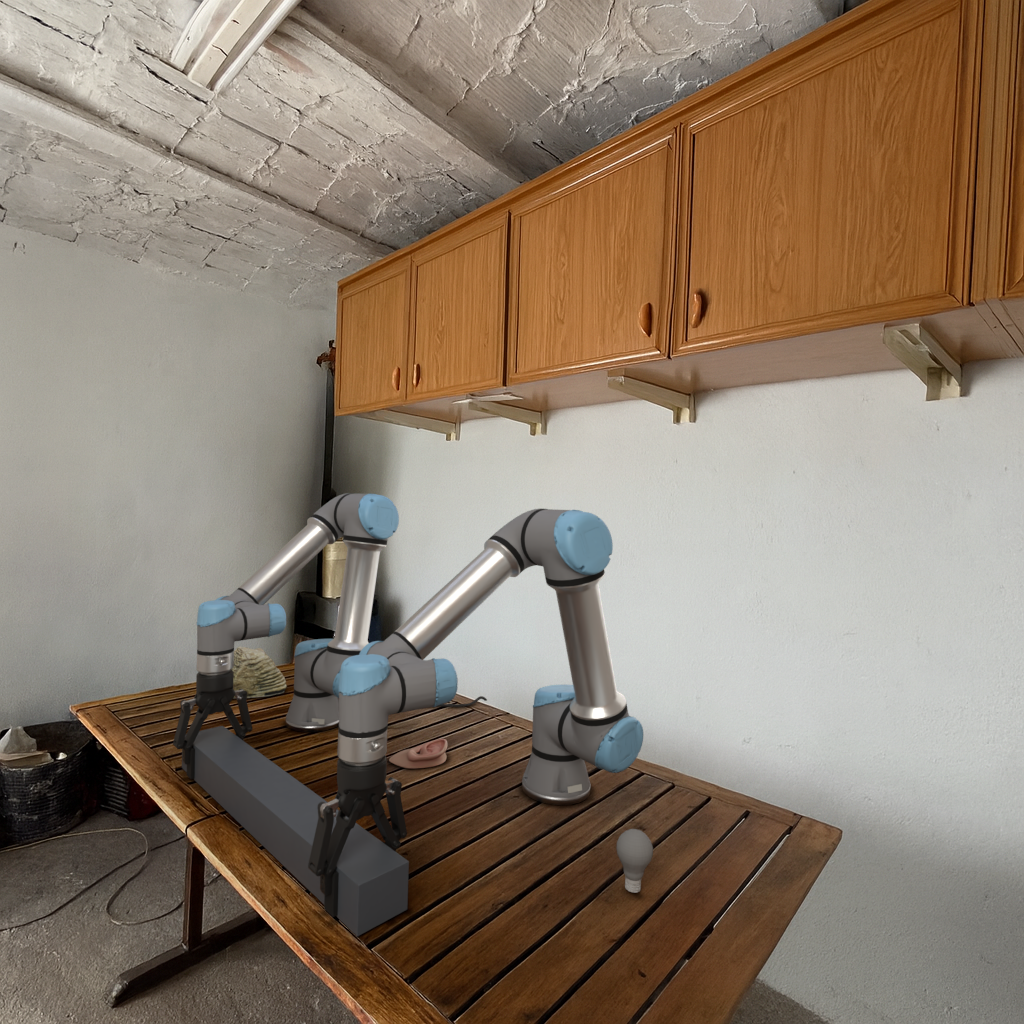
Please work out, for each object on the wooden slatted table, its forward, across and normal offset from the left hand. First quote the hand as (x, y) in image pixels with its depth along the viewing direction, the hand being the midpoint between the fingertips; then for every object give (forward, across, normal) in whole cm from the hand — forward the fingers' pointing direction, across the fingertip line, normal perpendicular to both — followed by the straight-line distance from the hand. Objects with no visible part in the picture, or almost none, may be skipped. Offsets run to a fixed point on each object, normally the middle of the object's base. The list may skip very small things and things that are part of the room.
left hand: (213, 770), depth 142 cm
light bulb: (+1, +36, -87) cm, 94 cm away
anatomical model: (+2, +40, -22) cm, 46 cm away
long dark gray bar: (0, 0, -30) cm, 30 cm away
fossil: (+2, +30, +49) cm, 58 cm away
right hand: (0, 0, -60) cm, 60 cm away
